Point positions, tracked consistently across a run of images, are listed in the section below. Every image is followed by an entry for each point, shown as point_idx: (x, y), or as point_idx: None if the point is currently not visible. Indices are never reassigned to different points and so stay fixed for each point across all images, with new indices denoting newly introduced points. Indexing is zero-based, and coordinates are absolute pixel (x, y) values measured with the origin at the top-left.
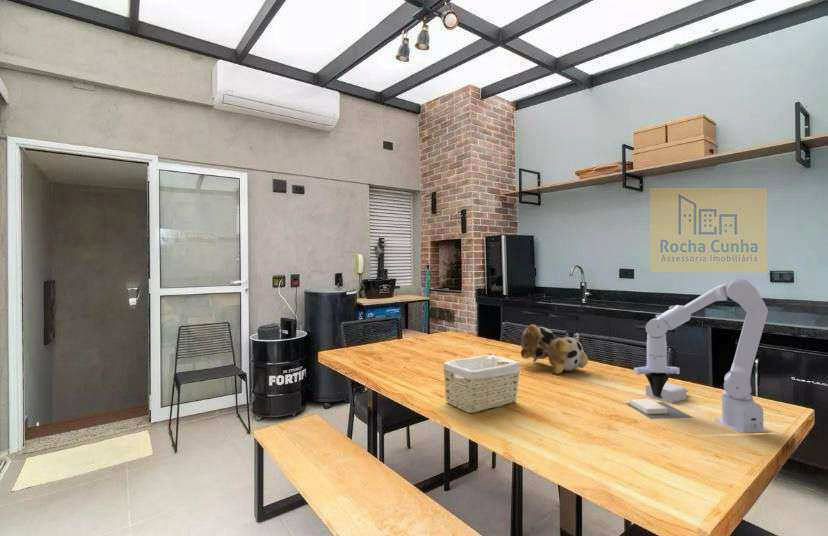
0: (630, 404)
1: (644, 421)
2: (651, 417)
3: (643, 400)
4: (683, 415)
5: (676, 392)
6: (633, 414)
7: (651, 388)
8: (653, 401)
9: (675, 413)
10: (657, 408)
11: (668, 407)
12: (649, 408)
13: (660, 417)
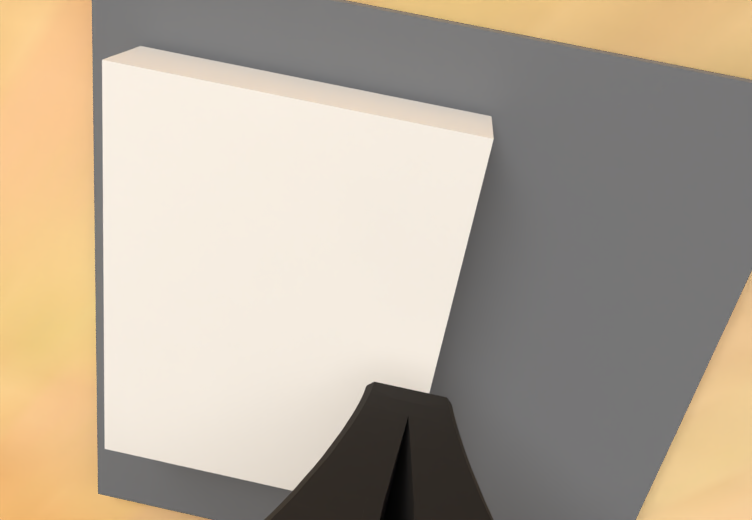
0: (152, 47)
1: (20, 485)
2: (128, 477)
3: (312, 175)
4: None
5: None
6: (10, 320)
7: (332, 445)
8: (442, 266)
9: (509, 484)
10: (257, 480)
11: (640, 317)
12: (152, 448)
13: (229, 503)
